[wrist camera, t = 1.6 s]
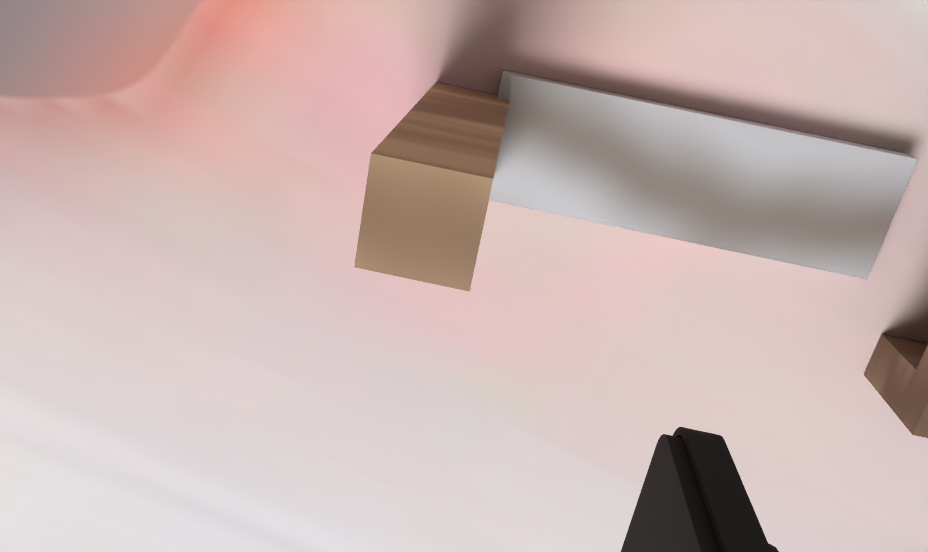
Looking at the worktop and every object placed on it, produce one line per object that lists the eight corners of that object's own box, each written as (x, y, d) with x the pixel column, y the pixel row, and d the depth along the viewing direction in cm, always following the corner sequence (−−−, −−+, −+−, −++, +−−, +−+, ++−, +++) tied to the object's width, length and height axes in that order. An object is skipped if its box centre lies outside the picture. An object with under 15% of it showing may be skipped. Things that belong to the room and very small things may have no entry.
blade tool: (440, 56, 30) (377, 111, 18) (906, 153, 30) (1152, 274, 18) (419, 178, 32) (348, 302, 20) (857, 270, 32) (1051, 450, 20)
